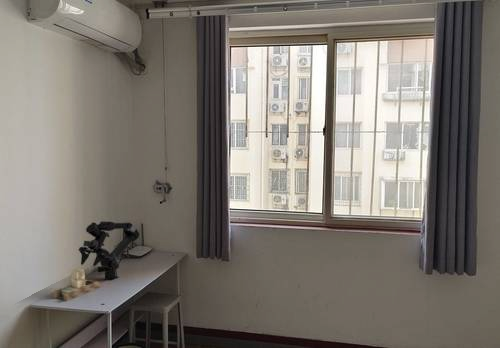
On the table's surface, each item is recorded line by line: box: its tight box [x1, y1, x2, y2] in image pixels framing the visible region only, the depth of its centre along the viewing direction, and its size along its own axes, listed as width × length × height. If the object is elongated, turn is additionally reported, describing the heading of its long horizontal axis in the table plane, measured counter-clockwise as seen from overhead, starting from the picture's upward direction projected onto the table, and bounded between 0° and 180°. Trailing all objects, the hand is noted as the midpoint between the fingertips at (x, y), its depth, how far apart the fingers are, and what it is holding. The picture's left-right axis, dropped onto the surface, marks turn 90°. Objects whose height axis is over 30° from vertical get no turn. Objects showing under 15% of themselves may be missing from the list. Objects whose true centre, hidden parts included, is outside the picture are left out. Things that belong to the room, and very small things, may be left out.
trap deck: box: [51, 278, 101, 302], centre depth 236 cm, size 22×12×3 cm, turn 151°
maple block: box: [70, 268, 86, 288], centre depth 237 cm, size 5×5×9 cm
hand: (87, 265), depth 241 cm, fingers open, 9 cm apart
